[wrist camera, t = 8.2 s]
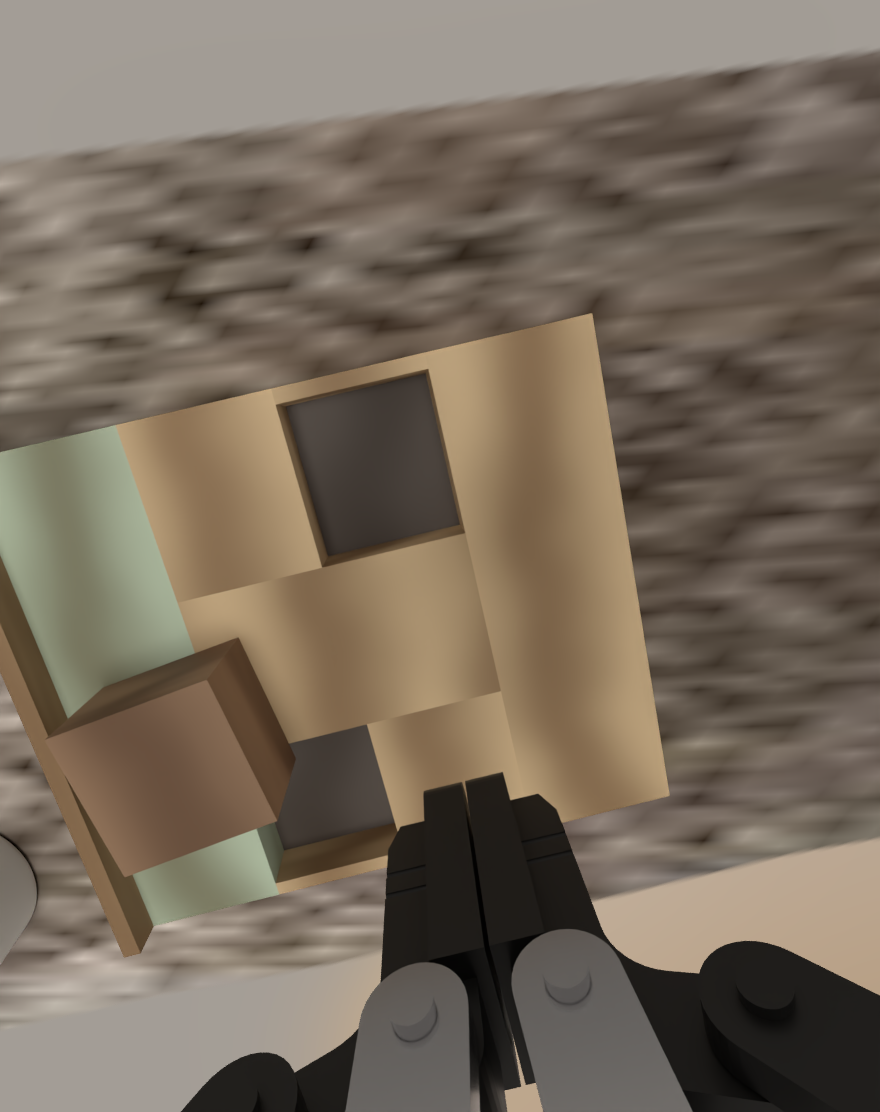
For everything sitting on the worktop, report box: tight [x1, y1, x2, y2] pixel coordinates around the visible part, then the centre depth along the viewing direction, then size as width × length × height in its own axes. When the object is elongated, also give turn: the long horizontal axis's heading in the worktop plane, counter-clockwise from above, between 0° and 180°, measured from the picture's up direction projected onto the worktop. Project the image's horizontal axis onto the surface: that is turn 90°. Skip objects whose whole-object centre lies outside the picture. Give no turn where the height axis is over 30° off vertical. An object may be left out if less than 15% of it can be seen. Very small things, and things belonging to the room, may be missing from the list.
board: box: [0, 313, 670, 957], centre depth 21 cm, size 21×18×3 cm
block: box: [45, 637, 296, 877], centre depth 19 cm, size 5×5×4 cm
